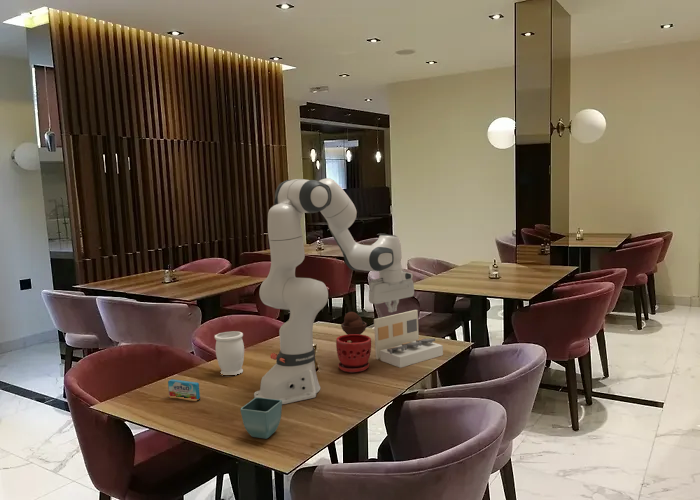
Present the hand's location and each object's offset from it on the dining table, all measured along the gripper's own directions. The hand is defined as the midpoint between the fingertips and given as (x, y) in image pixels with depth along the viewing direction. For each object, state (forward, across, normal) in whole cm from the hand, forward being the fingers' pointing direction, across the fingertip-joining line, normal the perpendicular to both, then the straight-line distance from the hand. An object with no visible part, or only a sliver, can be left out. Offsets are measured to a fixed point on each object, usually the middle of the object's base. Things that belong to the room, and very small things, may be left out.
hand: (392, 311), depth 215 cm
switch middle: (+14, +6, -3) cm, 16 cm away
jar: (+19, -54, +32) cm, 66 cm away
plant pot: (+19, -18, +2) cm, 26 cm away
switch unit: (+19, +7, -1) cm, 20 cm away
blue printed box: (+19, -77, +18) cm, 82 cm away
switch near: (+14, -1, -3) cm, 14 cm away
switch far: (+14, +14, -3) cm, 20 cm away
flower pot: (+19, -70, -26) cm, 77 cm away
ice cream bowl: (+20, +1, +27) cm, 34 cm away
